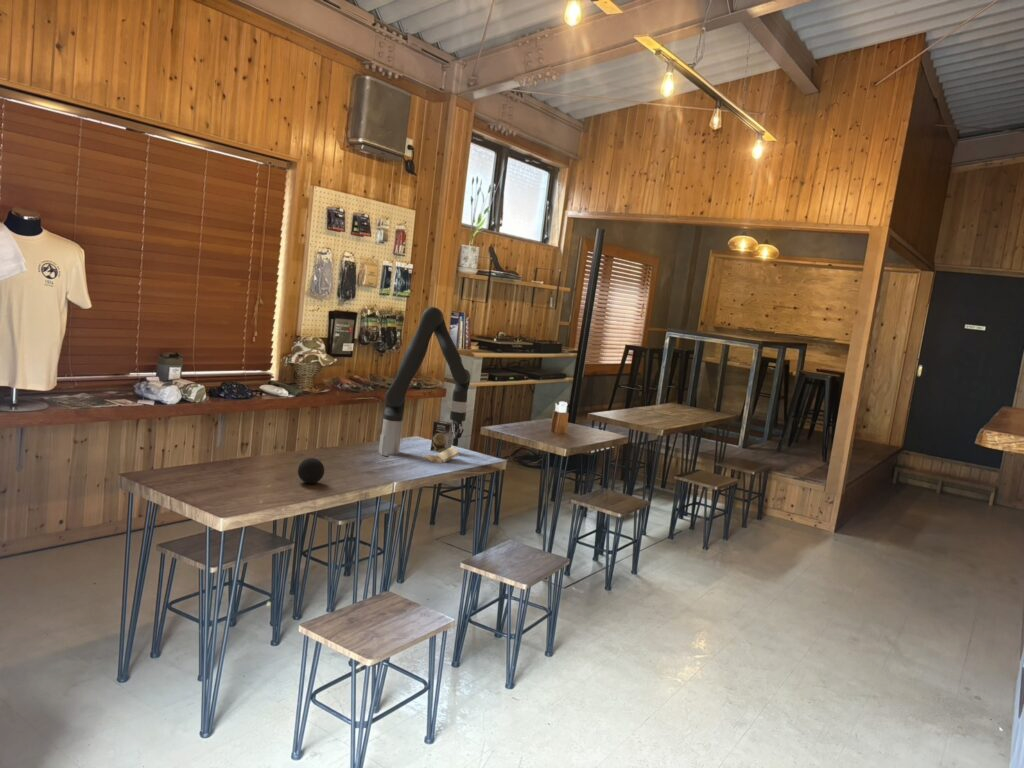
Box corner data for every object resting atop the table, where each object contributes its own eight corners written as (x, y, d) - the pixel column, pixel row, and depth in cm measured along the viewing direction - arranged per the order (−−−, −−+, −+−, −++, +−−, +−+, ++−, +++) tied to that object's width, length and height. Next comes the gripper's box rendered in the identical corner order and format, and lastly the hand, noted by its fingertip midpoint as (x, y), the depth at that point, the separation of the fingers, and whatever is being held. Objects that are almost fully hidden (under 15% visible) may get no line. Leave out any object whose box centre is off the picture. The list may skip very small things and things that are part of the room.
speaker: (328, 484, 286) (330, 460, 285) (306, 487, 278) (308, 462, 277) (313, 478, 292) (315, 454, 291) (291, 481, 285) (293, 456, 284)
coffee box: (429, 452, 367) (433, 421, 365) (434, 450, 373) (438, 419, 371) (446, 455, 364) (449, 424, 363) (451, 453, 370) (454, 422, 369)
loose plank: (443, 462, 344) (443, 460, 343) (436, 457, 354) (435, 455, 353) (460, 453, 346) (459, 451, 346) (453, 448, 356) (452, 446, 356)
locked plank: (431, 463, 341) (431, 460, 341) (424, 457, 351) (424, 455, 351) (443, 463, 344) (443, 460, 344) (436, 457, 354) (436, 455, 354)
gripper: (446, 407, 353) (443, 442, 355) (455, 412, 341) (452, 448, 343) (461, 408, 356) (457, 442, 358) (470, 413, 344) (467, 448, 346)
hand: (455, 445), depth 351 cm, fingers closed
